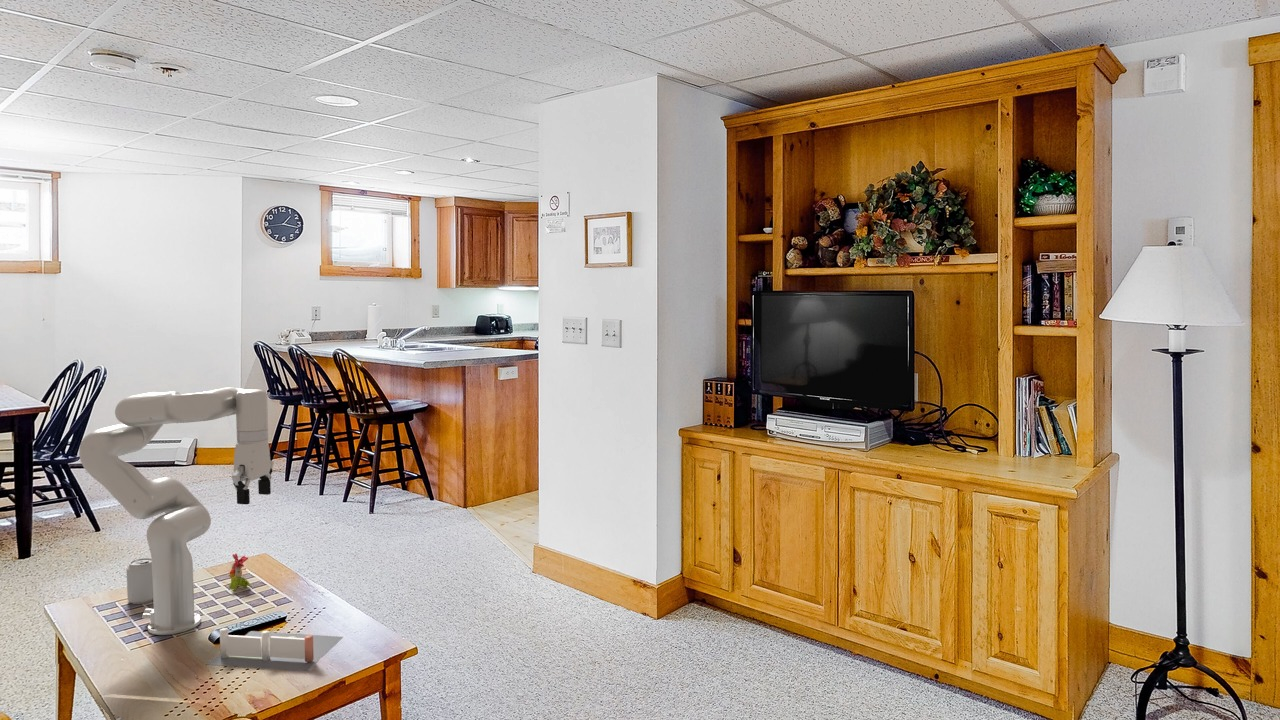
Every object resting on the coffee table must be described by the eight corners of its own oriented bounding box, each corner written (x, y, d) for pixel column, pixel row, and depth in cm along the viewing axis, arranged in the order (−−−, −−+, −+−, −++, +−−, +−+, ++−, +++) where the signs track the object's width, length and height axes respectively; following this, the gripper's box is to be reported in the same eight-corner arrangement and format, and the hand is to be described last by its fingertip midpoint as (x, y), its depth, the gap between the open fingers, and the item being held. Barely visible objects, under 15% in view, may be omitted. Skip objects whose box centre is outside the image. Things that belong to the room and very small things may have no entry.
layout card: (205, 666, 192) (205, 664, 192) (251, 633, 211) (250, 630, 211) (306, 673, 190) (306, 670, 190) (343, 639, 208) (343, 636, 208)
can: (147, 605, 227) (145, 565, 226) (121, 604, 228) (120, 564, 226) (163, 595, 235) (161, 556, 234) (138, 594, 235) (137, 556, 234)
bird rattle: (223, 594, 242) (231, 590, 236) (217, 558, 244) (226, 554, 238) (244, 589, 246) (253, 585, 240) (239, 554, 248) (248, 549, 242)
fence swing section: (268, 659, 194) (268, 636, 194) (273, 655, 196) (272, 632, 196) (311, 662, 193) (310, 638, 193) (315, 658, 195) (314, 635, 195)
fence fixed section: (218, 657, 195) (218, 630, 195) (223, 654, 197) (222, 627, 197) (267, 661, 194) (266, 634, 194) (271, 657, 196) (270, 630, 195)
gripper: (257, 429, 216) (259, 490, 218) (218, 441, 199) (220, 507, 201) (283, 430, 216) (285, 491, 217) (246, 442, 198) (248, 508, 200)
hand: (254, 498), depth 209 cm, fingers open, 9 cm apart
